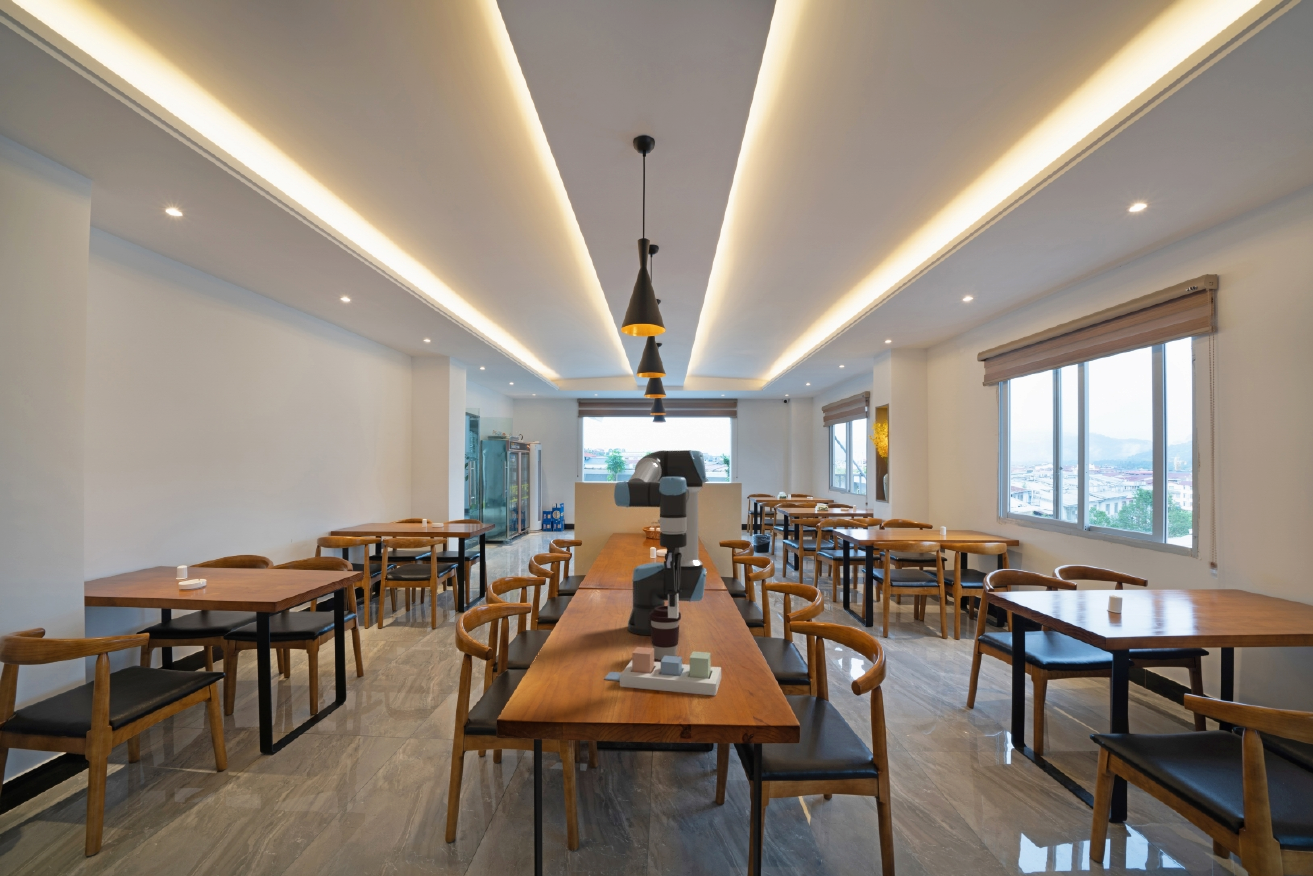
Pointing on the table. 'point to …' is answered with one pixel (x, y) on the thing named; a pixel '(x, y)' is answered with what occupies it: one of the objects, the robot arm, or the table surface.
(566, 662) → the table surface
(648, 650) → the button terracotta
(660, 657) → the coffee cup
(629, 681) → the button board
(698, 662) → the button sage
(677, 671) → the button slate
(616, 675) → the swatch
